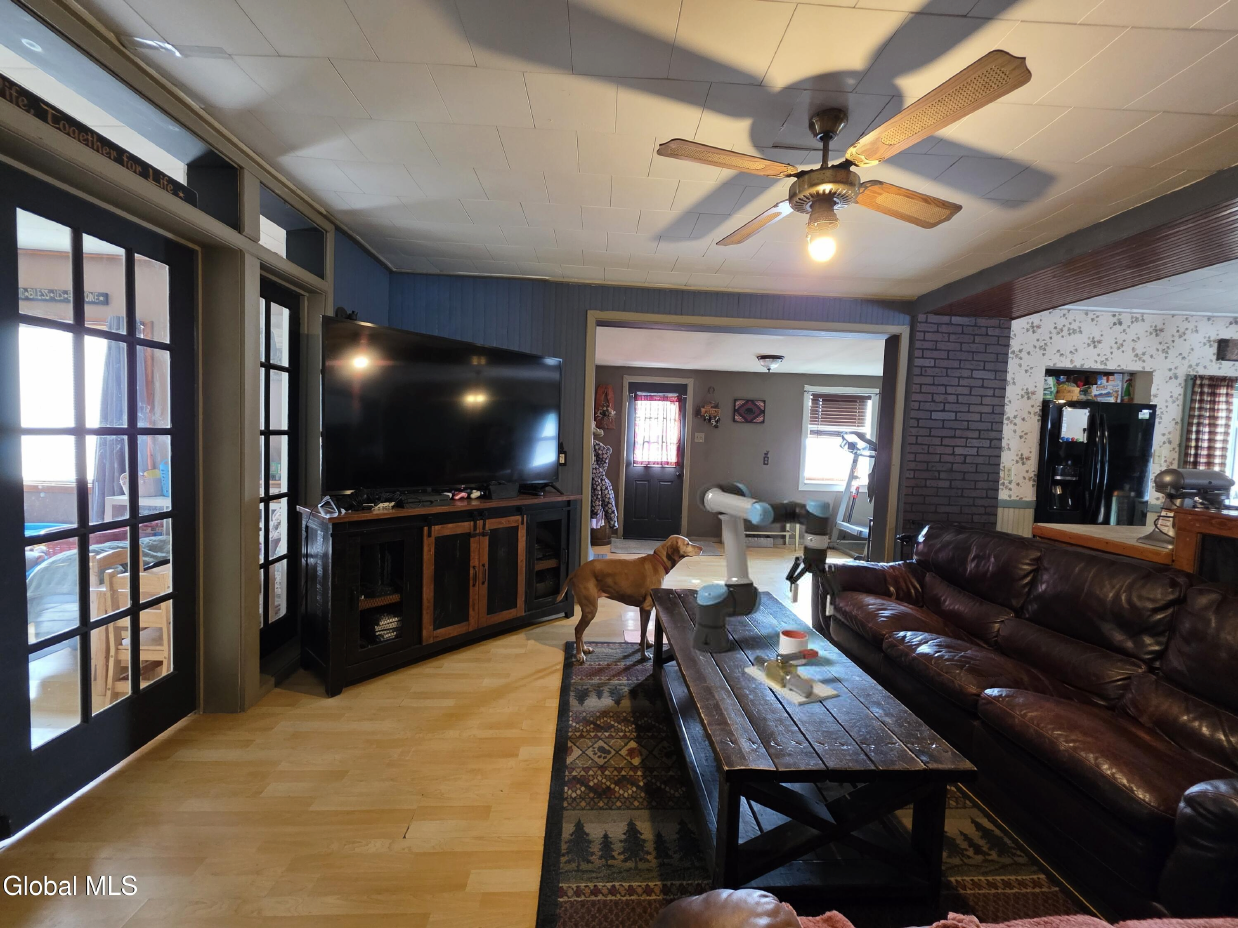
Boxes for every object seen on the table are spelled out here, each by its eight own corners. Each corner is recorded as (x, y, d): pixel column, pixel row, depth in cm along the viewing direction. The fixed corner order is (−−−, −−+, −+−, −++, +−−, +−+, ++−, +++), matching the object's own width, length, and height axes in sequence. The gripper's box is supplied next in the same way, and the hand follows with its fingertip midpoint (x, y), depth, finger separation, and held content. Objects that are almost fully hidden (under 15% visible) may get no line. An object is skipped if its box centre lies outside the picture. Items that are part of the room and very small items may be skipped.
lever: (781, 664, 174) (782, 658, 174) (773, 660, 178) (773, 654, 178) (819, 657, 181) (819, 652, 181) (810, 653, 185) (810, 647, 185)
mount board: (744, 670, 187) (744, 668, 187) (782, 663, 194) (782, 661, 194) (797, 705, 164) (797, 701, 163) (838, 695, 171) (838, 692, 171)
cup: (808, 667, 192) (810, 640, 191) (780, 664, 194) (781, 637, 193) (804, 657, 202) (806, 631, 201) (777, 654, 204) (778, 628, 203)
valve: (749, 670, 187) (750, 650, 187) (765, 667, 190) (766, 647, 189) (799, 702, 165) (800, 678, 165) (816, 698, 168) (817, 675, 168)
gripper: (777, 539, 186) (773, 599, 187) (843, 555, 166) (838, 621, 167) (791, 538, 190) (787, 596, 191) (857, 553, 170) (852, 617, 171)
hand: (811, 608), depth 179 cm, fingers open, 13 cm apart
